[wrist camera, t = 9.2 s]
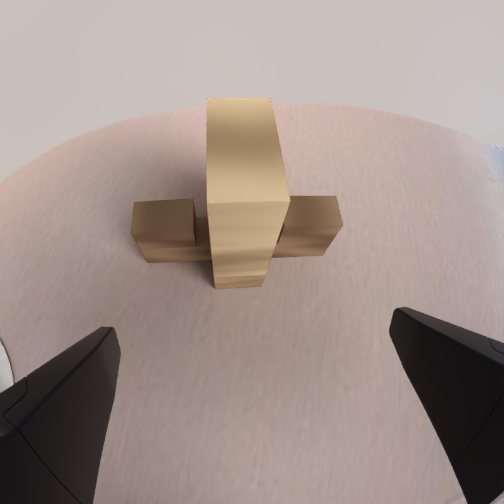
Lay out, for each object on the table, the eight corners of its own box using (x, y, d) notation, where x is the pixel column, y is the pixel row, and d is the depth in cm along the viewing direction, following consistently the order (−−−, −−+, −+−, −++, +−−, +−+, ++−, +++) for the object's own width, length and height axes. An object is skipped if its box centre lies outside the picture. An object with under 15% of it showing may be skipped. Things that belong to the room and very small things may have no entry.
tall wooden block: (261, 286, 20) (290, 200, 11) (215, 288, 20) (206, 203, 11) (253, 207, 23) (270, 98, 14) (212, 208, 22) (206, 98, 13)
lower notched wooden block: (318, 229, 22) (336, 196, 18) (322, 255, 22) (343, 224, 18) (149, 236, 21) (134, 202, 17) (147, 262, 20) (130, 232, 16)
